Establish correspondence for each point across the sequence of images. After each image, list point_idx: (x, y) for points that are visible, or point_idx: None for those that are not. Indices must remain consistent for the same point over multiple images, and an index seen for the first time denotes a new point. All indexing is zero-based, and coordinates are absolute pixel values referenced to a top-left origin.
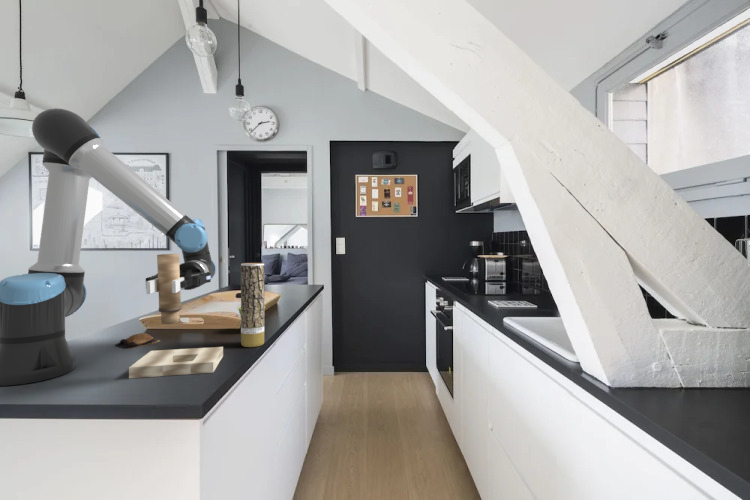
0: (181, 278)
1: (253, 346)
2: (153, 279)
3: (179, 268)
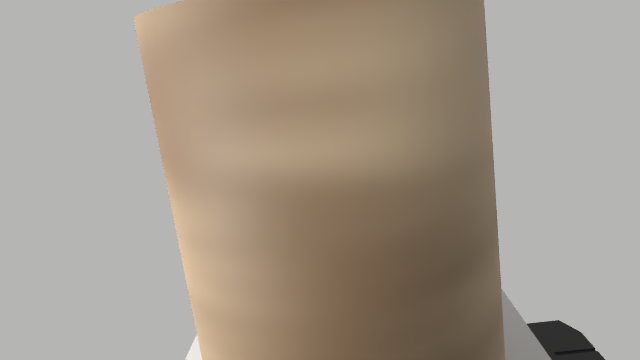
0: (186, 358)
1: None
2: (509, 308)
3: (184, 267)
